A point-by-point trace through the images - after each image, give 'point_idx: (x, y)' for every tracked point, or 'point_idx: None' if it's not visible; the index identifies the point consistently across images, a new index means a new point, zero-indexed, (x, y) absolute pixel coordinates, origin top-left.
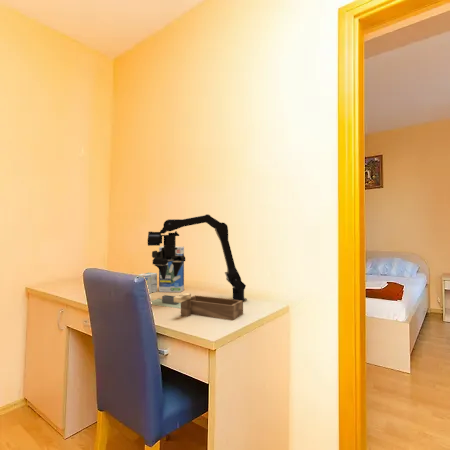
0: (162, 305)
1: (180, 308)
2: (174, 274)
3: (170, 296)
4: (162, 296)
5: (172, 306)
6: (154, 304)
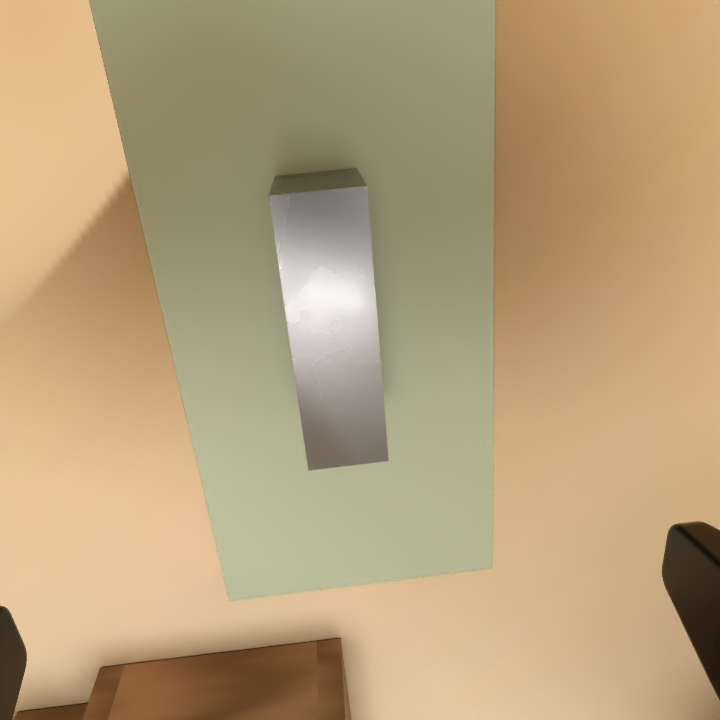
0: (172, 287)
1: (219, 552)
2: (708, 577)
3: (332, 346)
4: (269, 202)
5: (219, 436)
6: (134, 125)
